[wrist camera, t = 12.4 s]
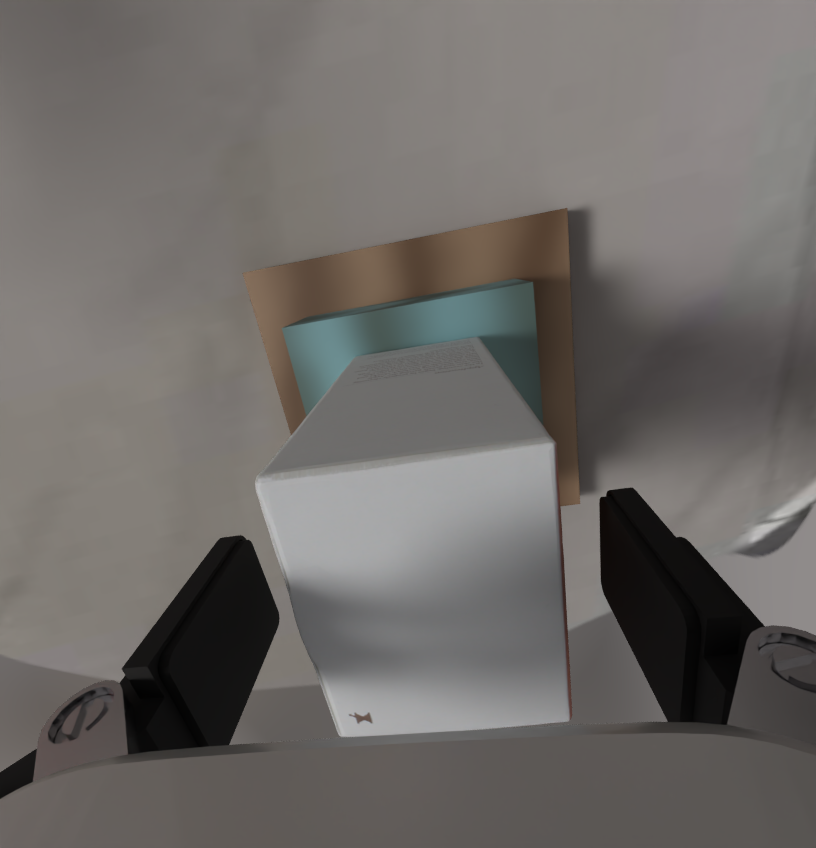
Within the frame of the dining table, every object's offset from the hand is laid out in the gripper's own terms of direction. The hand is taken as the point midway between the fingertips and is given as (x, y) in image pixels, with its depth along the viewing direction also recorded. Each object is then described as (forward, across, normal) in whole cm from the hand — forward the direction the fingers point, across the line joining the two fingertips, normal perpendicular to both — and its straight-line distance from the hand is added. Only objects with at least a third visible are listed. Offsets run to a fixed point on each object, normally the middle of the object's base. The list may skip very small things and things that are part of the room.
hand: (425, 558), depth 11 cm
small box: (+11, 0, 0) cm, 11 cm away
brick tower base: (+17, 0, +1) cm, 17 cm away
